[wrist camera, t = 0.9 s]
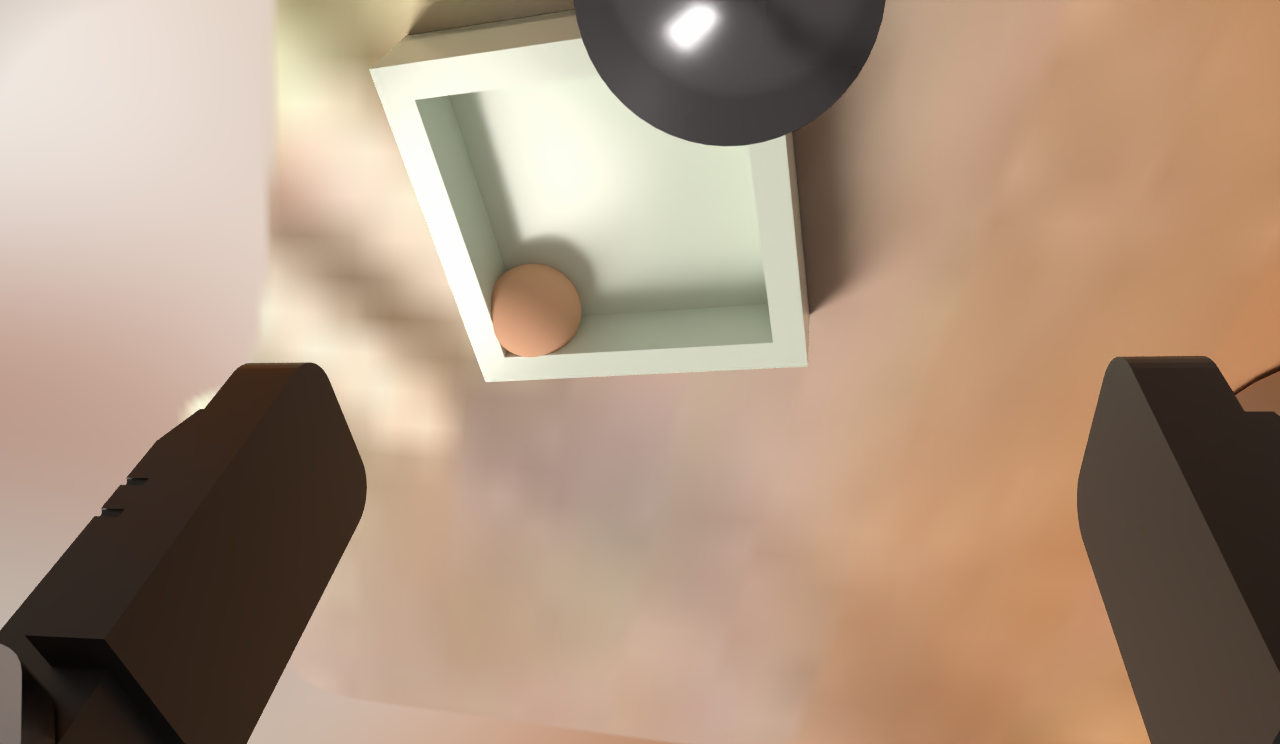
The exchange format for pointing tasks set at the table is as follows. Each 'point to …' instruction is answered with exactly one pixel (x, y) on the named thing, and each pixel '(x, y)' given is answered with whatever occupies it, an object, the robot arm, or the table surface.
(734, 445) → the table surface
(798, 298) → the tray
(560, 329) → the ball
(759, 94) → the cylinder
